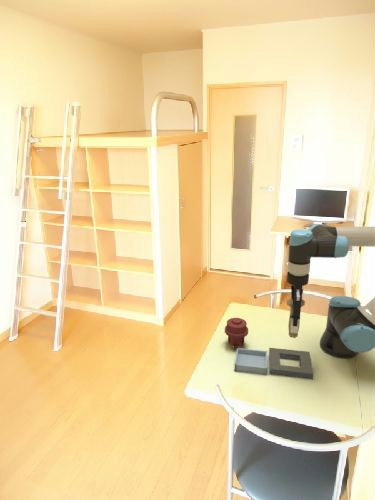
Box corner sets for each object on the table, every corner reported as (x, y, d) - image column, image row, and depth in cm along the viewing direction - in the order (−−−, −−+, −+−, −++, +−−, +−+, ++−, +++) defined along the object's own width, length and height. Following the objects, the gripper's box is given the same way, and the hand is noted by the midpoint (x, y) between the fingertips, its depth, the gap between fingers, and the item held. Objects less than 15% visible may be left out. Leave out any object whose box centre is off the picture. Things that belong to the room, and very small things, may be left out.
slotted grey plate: (308, 356, 145) (309, 351, 144) (312, 379, 132) (313, 373, 131) (268, 352, 148) (269, 347, 147) (269, 374, 135) (269, 368, 135)
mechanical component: (248, 339, 158) (247, 353, 148) (225, 337, 160) (223, 350, 150) (249, 315, 154) (248, 327, 144) (226, 313, 156) (223, 325, 146)
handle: (303, 338, 134) (307, 303, 129) (287, 340, 133) (290, 304, 128) (298, 331, 139) (301, 297, 134) (282, 333, 138) (284, 298, 133)
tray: (266, 357, 145) (267, 351, 144) (266, 374, 135) (267, 368, 134) (236, 354, 148) (237, 347, 147) (234, 371, 137) (234, 364, 136)
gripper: (286, 263, 136) (282, 317, 143) (288, 281, 120) (284, 340, 128) (306, 264, 134) (301, 318, 142) (311, 282, 119) (306, 342, 126)
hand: (293, 328), depth 135 cm, fingers closed on handle, 4 cm apart
